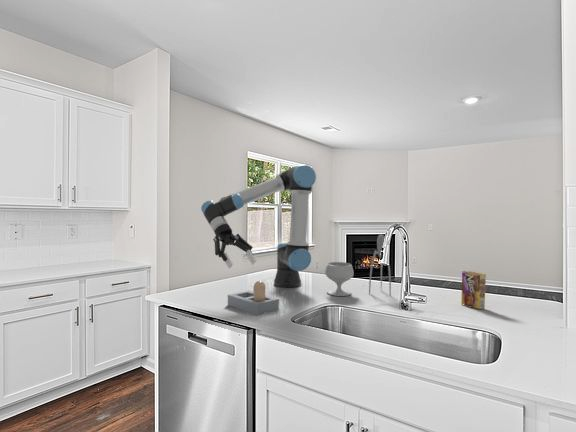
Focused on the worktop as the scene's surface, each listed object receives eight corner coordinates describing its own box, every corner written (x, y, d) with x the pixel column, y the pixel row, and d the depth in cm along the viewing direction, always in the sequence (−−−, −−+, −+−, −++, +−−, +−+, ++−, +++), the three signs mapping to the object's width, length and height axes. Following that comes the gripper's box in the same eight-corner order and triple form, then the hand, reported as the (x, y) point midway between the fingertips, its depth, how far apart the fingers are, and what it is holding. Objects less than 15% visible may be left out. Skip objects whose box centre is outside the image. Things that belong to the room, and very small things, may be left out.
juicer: (384, 297, 172) (385, 235, 171) (368, 293, 179) (370, 234, 178) (396, 294, 179) (397, 234, 178) (380, 290, 186) (382, 233, 185)
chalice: (322, 295, 174) (323, 265, 173) (327, 289, 187) (328, 261, 187) (351, 298, 170) (352, 267, 169) (354, 291, 183) (355, 262, 183)
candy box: (485, 308, 155) (486, 273, 154) (478, 309, 153) (479, 274, 152) (467, 303, 163) (468, 270, 162) (460, 304, 161) (461, 271, 160)
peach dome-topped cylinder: (260, 304, 153) (260, 279, 153) (267, 307, 150) (267, 281, 149) (250, 306, 150) (251, 281, 149) (258, 309, 146) (258, 283, 146)
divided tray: (249, 300, 164) (249, 290, 164) (278, 309, 150) (278, 299, 150) (227, 305, 156) (227, 294, 156) (256, 315, 142) (256, 304, 141)
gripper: (237, 232, 177) (259, 266, 167) (195, 235, 158) (216, 273, 148) (245, 222, 173) (267, 256, 164) (202, 223, 154) (224, 262, 145)
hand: (243, 264), depth 156 cm, fingers open, 13 cm apart
